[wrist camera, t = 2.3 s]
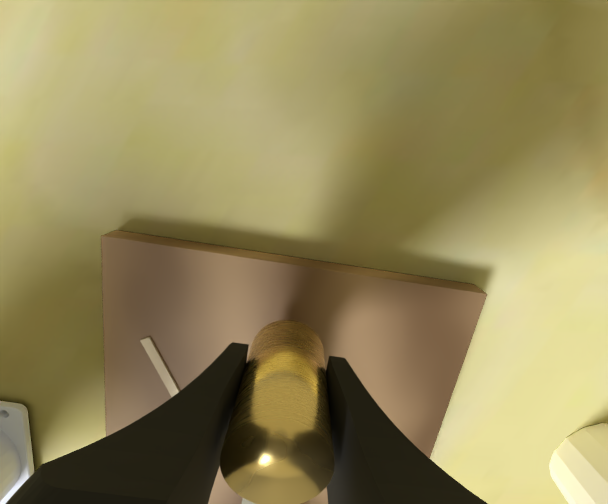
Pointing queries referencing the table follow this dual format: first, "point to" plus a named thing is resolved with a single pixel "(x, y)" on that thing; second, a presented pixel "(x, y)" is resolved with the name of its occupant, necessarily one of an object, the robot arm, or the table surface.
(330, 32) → the table surface
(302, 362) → the lever
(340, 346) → the bench base
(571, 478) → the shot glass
